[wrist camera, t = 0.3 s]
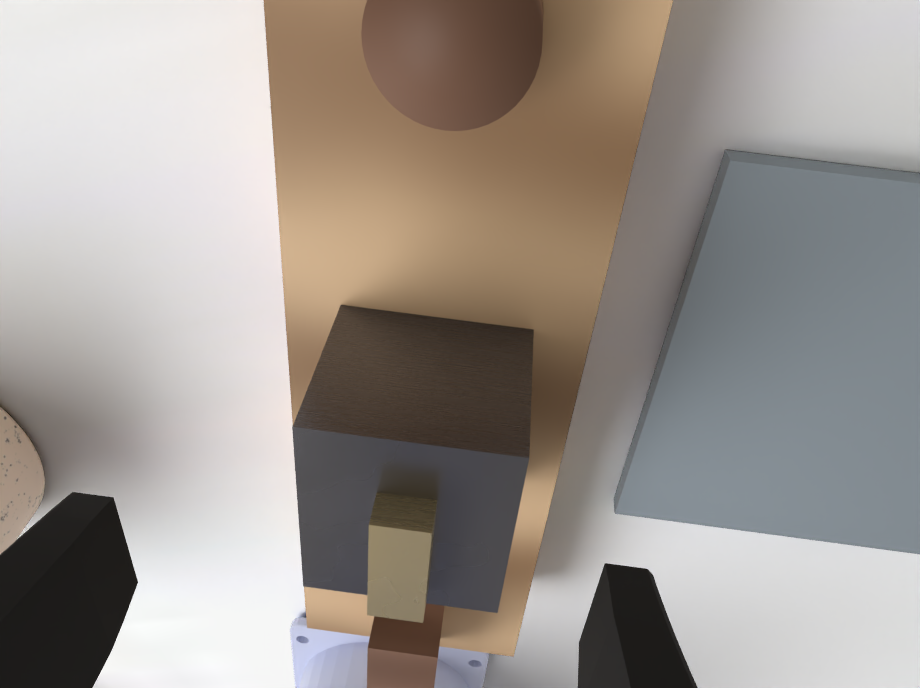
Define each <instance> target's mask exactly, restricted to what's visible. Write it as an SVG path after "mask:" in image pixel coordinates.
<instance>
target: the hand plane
mask: <svg viewBox="0 0 920 688" xmlns="http://www.w3.org/2000/svg"><path fill="white" fill-rule="evenodd" d="M672 3H673V0H264V12H265V27H266V41H267V56H268V70H269V85H270V99H271V114H272V128H273V143H274V157H275V172H276V186H277V201H278V215H279V230H280V244H281V259H282V273H283V288H284V302H285V317H286V331H287V346H288V360H289V375H290V389H291V404H292V418H293V424H294V422H295V419H296V416H297V414H298V411H299V409H300V406H301V404H302V401H303V399H304V396H305V394H306V391H307V389H308V386H309V384H310V381H311V379H312V376H313V374H314V371H315V368H316V366H317V363H318V361H319V358H320V356H321V353H322V351H323V348H324V346H325V343H326V341H327V338H328V336H329V333H330V331H331V328H332V326H333V323H334V320H335V318H336V315H337V313H338V310H339V308H340V305H347V306H355V307H362V308H370V309H378V310H386V311H394V312H402V313H409V314H417V315H425V316H433V317H441V318H448V319H456V320H464V321H472V322H480V323H487V324H495V325H503V326H511V327H519V328H526V329H534V337H533V367H532V396H531V426H530V455H529V462H528V467H527V472H526V477H525V482H524V487H523V492H522V497H521V501H520V506H519V511H518V516H517V521H516V526H515V531H514V535H513V540H512V545H511V550H510V555H509V560H508V565H507V570H506V574H505V579H504V584H503V589H502V594H501V599H500V604H499V609H498V613H493V612H486V611H478V610H471V609H464V608H456V607H449V606H442V605H435V604H427V603H426V607H425V614H424V620H423V623H420V622H413V621H405V620H398V619H391V618H384V617H376V616H369V615H367V595H362V594H355V593H347V592H340V591H333V590H326V589H318V588H311V587H304V592H305V607H306V621H307V628H311V629H318V630H325V631H333V632H340V633H347V634H354V635H361V636H369V637H370V639H369V644H368V654H367V688H434V684H435V676H436V669H437V661H438V653H439V646H441V647H448V648H455V649H462V650H469V651H477V652H484V653H491V654H498V655H505V656H514V652H515V648H516V644H517V640H518V636H519V632H520V628H521V624H522V619H523V615H524V611H525V607H526V603H527V599H528V595H529V591H530V587H531V582H532V578H533V574H534V570H535V566H536V562H537V558H538V554H539V550H540V545H541V541H542V537H543V533H544V529H545V525H546V521H547V517H548V513H549V508H550V504H551V500H552V496H553V492H554V488H555V484H556V480H557V476H558V471H559V467H560V463H561V459H562V455H563V451H564V447H565V443H566V439H567V434H568V430H569V426H570V422H571V418H572V414H573V410H574V406H575V402H576V398H577V393H578V389H579V385H580V381H581V377H582V373H583V369H584V365H585V361H586V356H587V352H588V348H589V344H590V340H591V336H592V332H593V328H594V324H595V319H596V315H597V311H598V307H599V303H600V299H601V295H602V291H603V287H604V282H605V278H606V274H607V270H608V266H609V262H610V258H611V254H612V250H613V245H614V241H615V237H616V233H617V229H618V225H619V221H620V217H621V213H622V208H623V204H624V200H625V196H626V192H627V188H628V184H629V180H630V176H631V171H632V167H633V163H634V159H635V155H636V151H637V147H638V143H639V139H640V134H641V130H642V126H643V122H644V118H645V114H646V110H647V106H648V102H649V98H650V93H651V89H652V85H653V81H654V77H655V73H656V69H657V65H658V61H659V56H660V52H661V48H662V44H663V40H664V36H665V32H666V28H667V24H668V19H669V15H670V11H671V7H672Z"/></svg>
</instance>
